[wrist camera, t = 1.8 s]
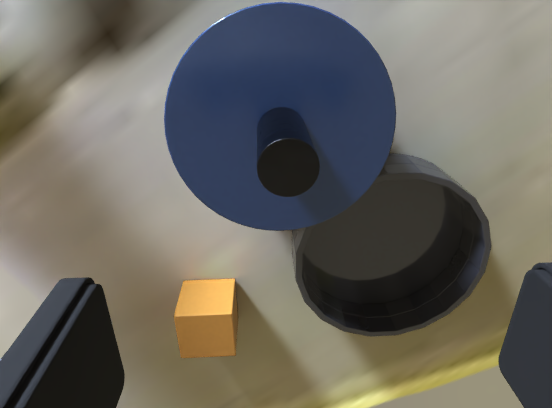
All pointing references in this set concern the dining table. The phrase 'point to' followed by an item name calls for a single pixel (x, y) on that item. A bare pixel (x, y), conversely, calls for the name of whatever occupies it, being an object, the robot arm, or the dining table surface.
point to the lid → (280, 116)
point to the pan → (394, 252)
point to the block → (207, 318)
